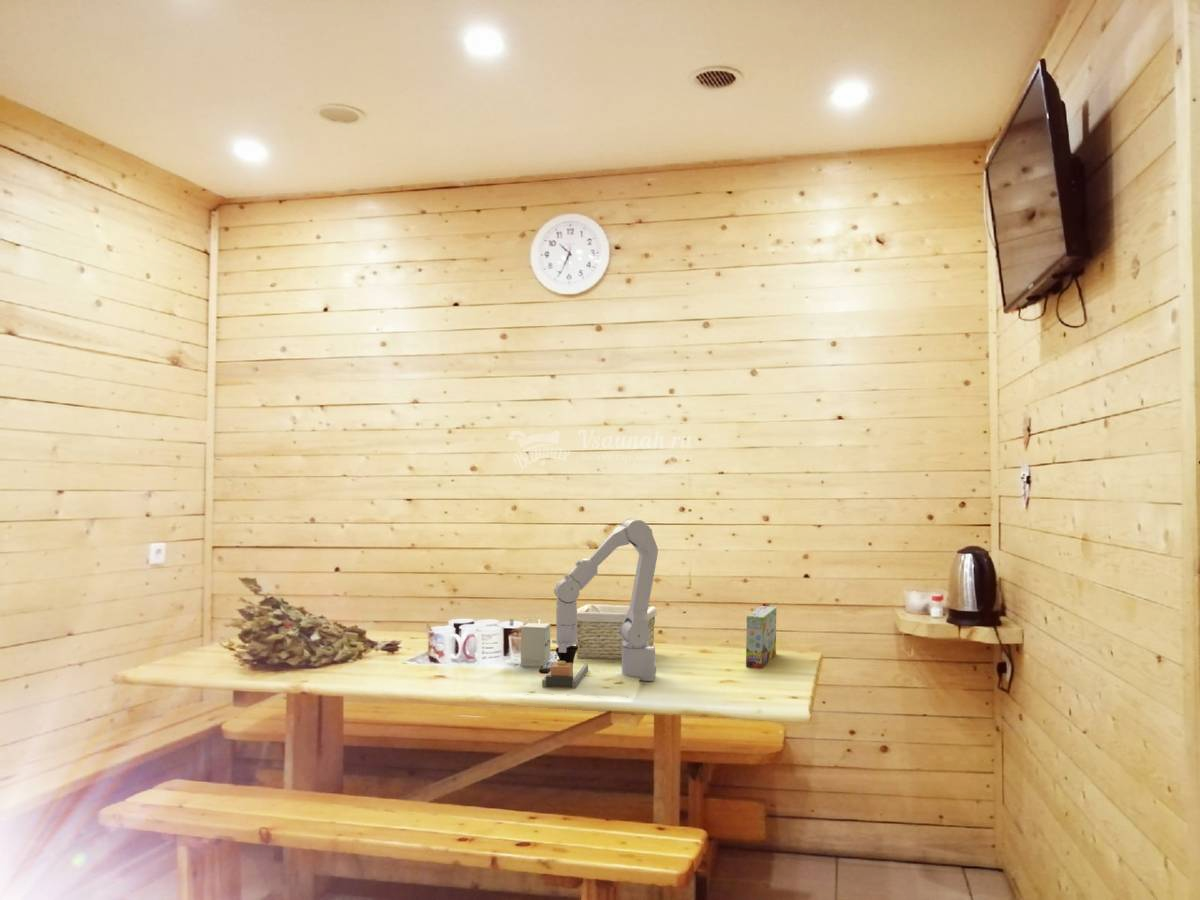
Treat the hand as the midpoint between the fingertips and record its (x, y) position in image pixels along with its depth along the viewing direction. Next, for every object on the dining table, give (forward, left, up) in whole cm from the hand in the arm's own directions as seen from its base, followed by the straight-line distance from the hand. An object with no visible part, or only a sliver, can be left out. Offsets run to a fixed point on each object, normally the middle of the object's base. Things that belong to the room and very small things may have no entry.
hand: (567, 673), depth 235 cm
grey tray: (0, +1, -2) cm, 3 cm away
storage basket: (-9, -34, -2) cm, 36 cm away
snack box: (-54, -33, -2) cm, 63 cm away
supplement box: (+12, -15, -2) cm, 19 cm away
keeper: (0, +7, -1) cm, 7 cm away
